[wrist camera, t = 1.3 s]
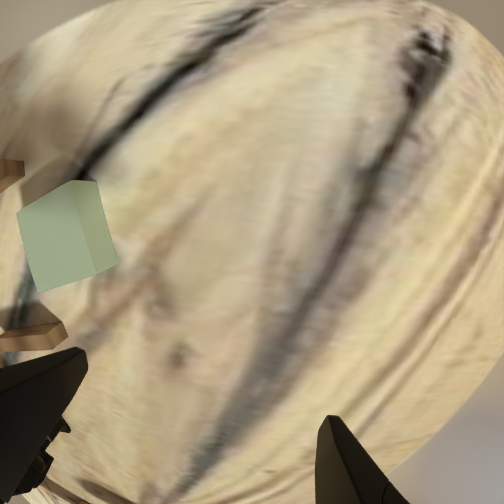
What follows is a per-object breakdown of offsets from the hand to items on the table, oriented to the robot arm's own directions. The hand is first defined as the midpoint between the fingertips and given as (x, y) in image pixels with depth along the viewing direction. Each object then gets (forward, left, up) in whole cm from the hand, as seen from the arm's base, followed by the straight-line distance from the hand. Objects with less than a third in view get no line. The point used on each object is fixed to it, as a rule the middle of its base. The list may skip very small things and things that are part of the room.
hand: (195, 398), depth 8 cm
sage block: (-12, +7, -13) cm, 19 cm away
